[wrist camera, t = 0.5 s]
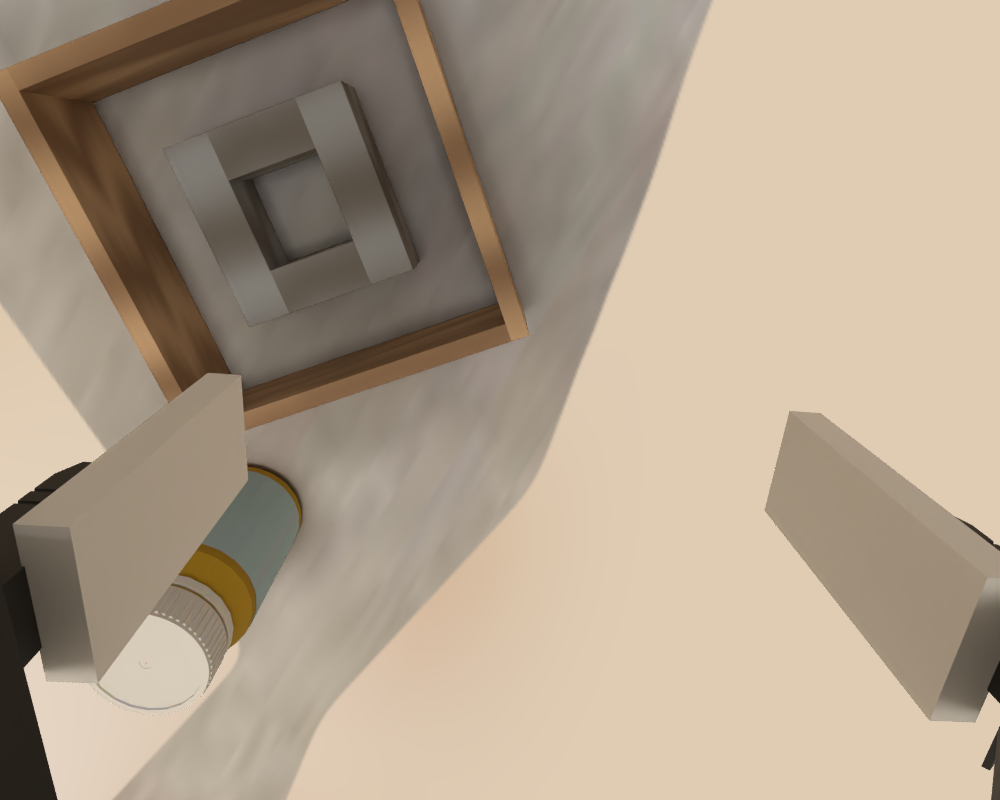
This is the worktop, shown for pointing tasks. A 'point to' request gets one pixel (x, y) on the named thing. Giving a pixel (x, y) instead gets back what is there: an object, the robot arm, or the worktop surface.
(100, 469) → the robot arm
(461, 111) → the worktop surface
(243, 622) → the bottle
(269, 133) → the crate
